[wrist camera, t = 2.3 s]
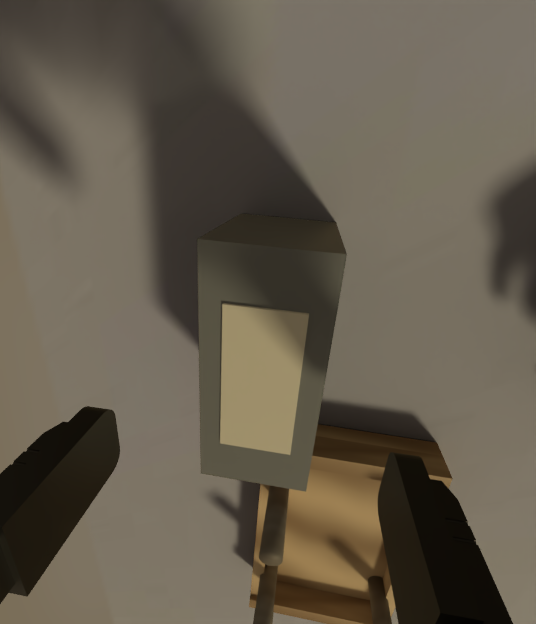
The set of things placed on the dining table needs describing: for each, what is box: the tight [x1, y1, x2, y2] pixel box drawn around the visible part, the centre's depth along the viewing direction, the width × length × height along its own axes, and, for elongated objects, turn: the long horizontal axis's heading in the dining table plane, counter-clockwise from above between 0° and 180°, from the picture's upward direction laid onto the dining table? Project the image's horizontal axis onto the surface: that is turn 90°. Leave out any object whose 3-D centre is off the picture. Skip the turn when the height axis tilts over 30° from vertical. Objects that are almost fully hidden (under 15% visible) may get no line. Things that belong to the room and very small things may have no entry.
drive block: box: [197, 214, 347, 492], centre depth 15 cm, size 10×4×7 cm, turn 176°
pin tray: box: [249, 424, 452, 624], centre depth 20 cm, size 16×10×6 cm, turn 176°
